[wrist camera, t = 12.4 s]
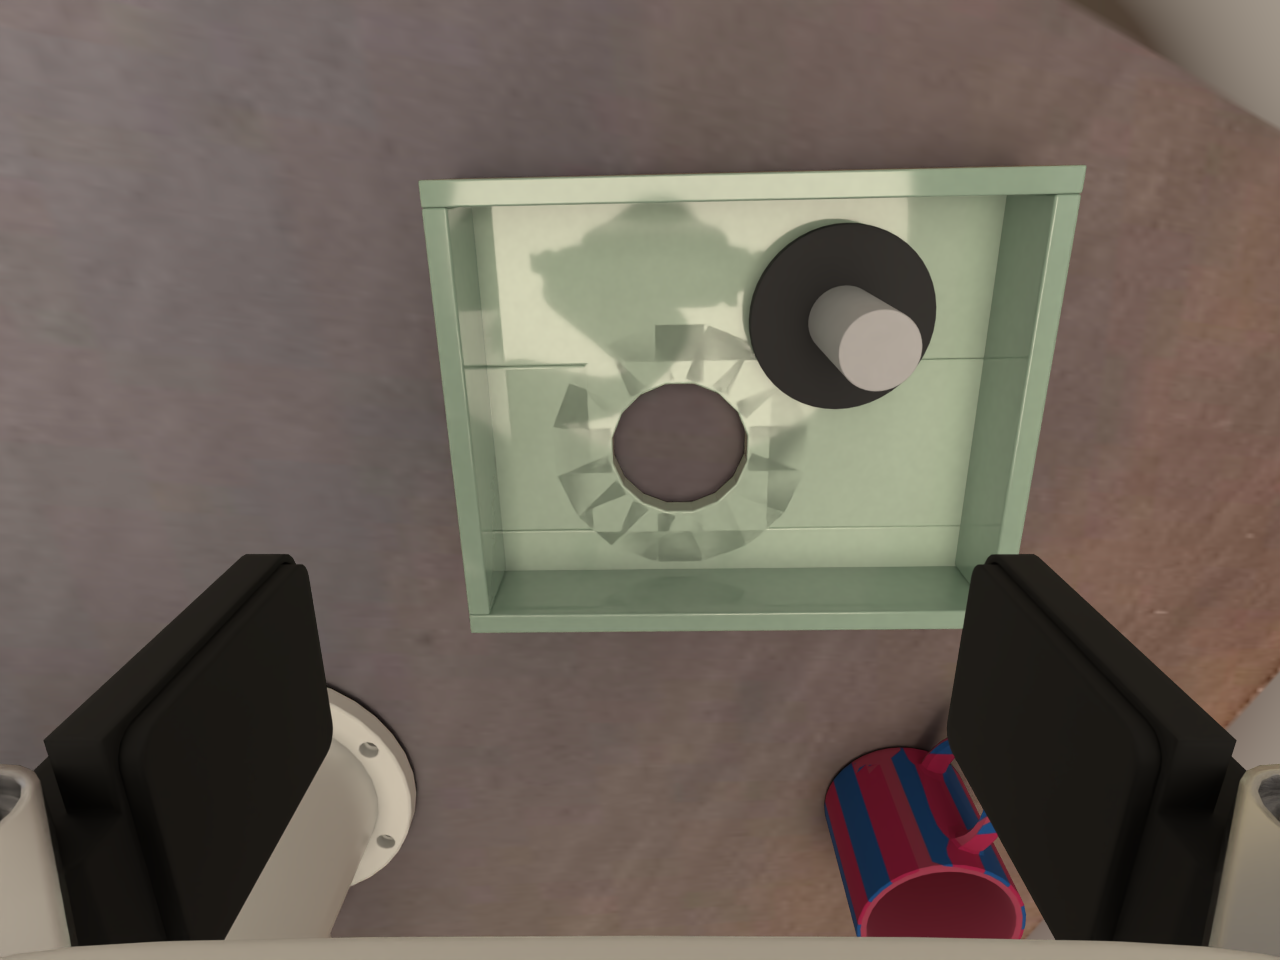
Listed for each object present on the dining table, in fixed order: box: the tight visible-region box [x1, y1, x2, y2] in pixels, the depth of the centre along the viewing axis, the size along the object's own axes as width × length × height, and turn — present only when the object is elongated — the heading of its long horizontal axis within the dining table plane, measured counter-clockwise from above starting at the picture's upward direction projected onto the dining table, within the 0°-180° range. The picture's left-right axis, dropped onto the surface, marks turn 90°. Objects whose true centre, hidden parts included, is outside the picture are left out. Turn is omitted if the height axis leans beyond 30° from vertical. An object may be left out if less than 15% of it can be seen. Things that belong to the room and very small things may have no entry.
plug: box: [749, 223, 936, 409], centre depth 26 cm, size 6×6×6 cm
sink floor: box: [472, 165, 1020, 571], centre depth 30 cm, size 16×20×1 cm
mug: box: [824, 738, 1026, 939], centre depth 34 cm, size 7×10×7 cm
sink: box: [418, 165, 1086, 633], centre depth 29 cm, size 16×20×4 cm
